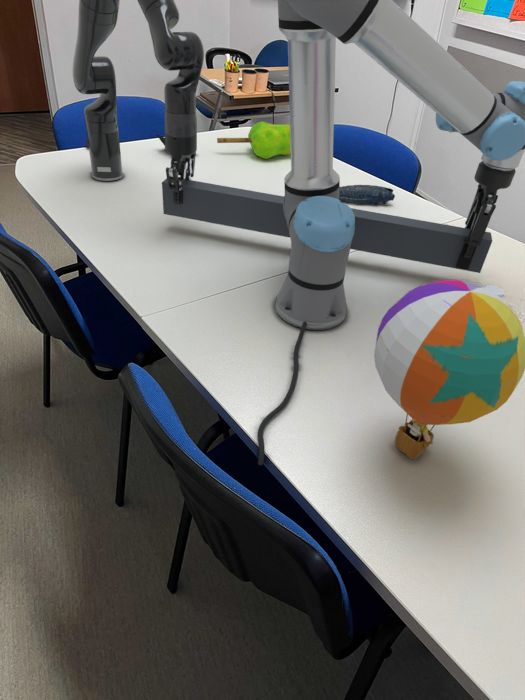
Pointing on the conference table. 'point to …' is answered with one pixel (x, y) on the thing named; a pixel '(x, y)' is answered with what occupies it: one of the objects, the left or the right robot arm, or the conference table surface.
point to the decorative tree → (266, 139)
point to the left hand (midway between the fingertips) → (181, 199)
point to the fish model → (366, 194)
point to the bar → (369, 234)
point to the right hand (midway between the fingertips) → (461, 262)
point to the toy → (448, 357)
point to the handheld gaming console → (163, 139)
